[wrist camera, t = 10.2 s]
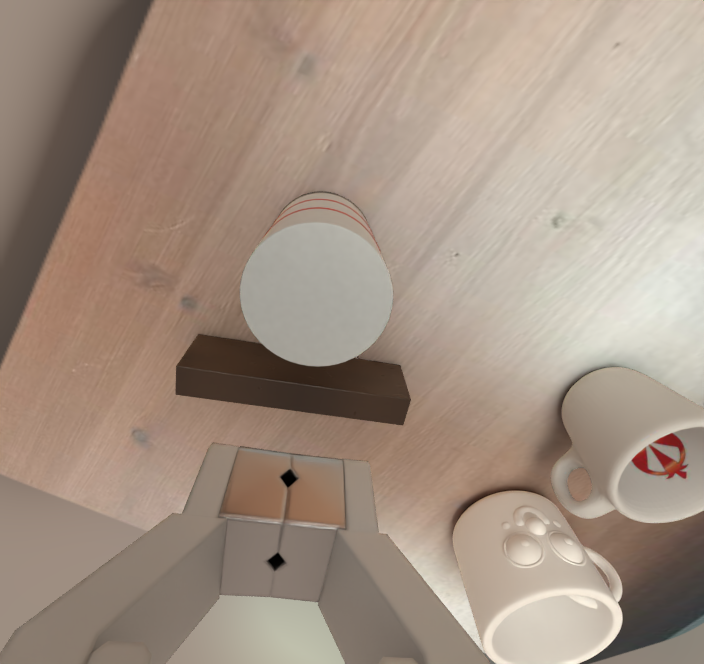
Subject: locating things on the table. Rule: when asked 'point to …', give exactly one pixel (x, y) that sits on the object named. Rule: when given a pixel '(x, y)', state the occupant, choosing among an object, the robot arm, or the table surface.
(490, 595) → the mug
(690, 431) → the cup
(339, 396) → the rail
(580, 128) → the table surface
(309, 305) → the white striped cylinder
